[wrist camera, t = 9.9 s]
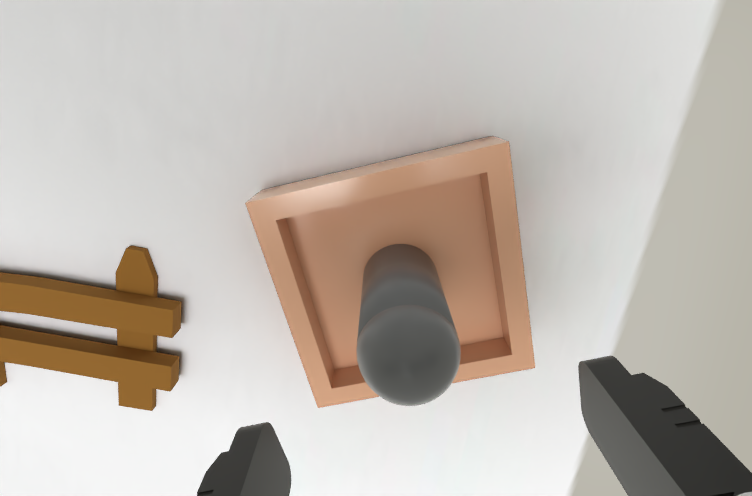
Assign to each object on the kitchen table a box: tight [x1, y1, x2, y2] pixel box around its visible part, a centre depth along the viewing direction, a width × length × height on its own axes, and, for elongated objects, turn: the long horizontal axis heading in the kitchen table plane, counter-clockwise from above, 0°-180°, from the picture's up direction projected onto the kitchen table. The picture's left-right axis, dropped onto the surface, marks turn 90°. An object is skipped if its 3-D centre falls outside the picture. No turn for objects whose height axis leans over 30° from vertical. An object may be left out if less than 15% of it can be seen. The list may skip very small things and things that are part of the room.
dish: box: [245, 136, 535, 408], centre depth 20 cm, size 11×11×2 cm
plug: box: [356, 244, 461, 406], centre depth 16 cm, size 4×4×8 cm
